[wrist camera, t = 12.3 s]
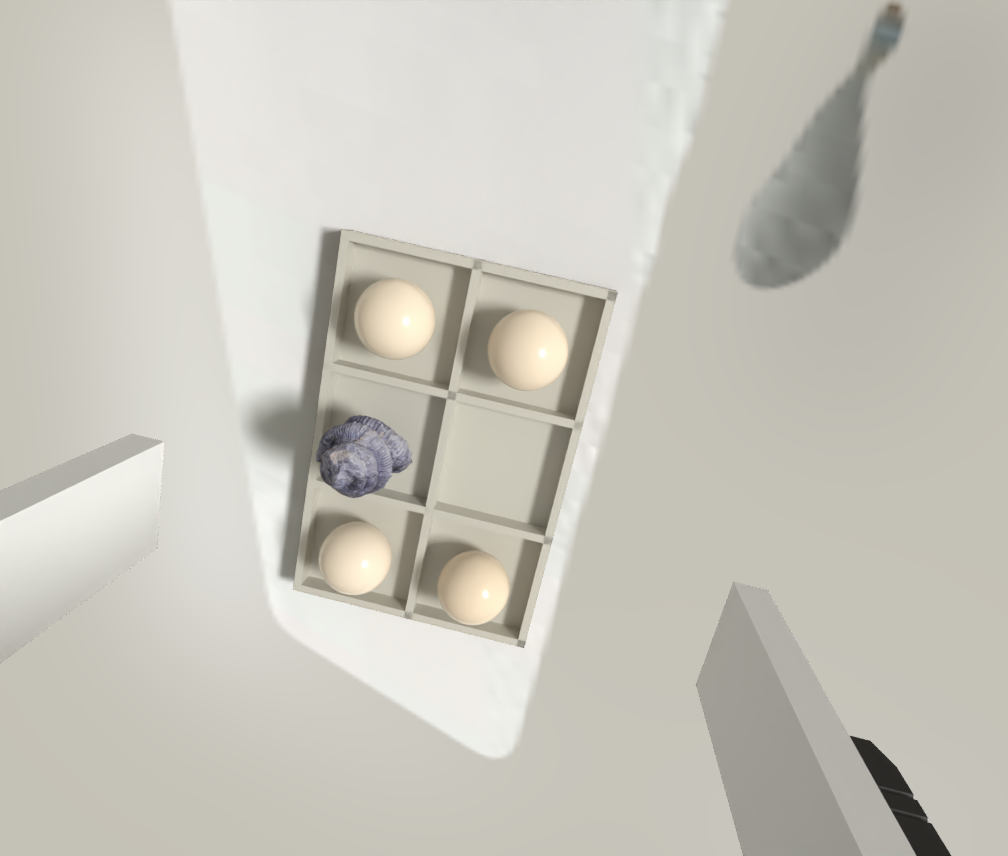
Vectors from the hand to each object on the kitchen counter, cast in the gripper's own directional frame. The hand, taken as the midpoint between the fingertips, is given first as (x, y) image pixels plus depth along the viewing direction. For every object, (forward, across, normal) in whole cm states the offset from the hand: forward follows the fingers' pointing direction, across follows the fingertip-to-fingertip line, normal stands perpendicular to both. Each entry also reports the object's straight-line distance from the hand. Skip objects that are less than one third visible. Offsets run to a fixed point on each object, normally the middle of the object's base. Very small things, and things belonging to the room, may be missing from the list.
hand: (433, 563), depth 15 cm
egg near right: (+32, 0, 0) cm, 32 cm away
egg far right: (+32, 0, -18) cm, 37 cm away
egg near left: (+32, -9, 0) cm, 33 cm away
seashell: (+32, -9, -9) cm, 35 cm away
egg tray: (+33, -4, -9) cm, 34 cm away
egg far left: (+32, -9, -18) cm, 38 cm away
